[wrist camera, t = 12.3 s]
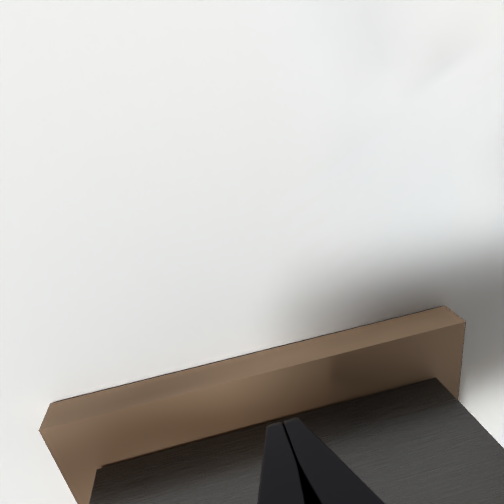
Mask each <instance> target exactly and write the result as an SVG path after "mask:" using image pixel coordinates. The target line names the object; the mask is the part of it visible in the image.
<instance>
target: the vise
mask: <svg viewBox="0 0 504 504" xmlns="http://www.w3.org/2000/svg"><path fill="white" fill-rule="evenodd" d="M465 324H466V321H464V320H463V319H462V318H460V317H459V316H458V315H456V314H455V313H454V312H452V311H451V310H450V309H448V308H447V307H446V306H442V307H438V308H434V309H430V310H426V311H422V312H418V313H414V314H410V315H406V316H402V317H398V318H394V319H389V320H385V321H381V322H377V323H373V324H369V325H365V326H361V327H357V328H353V329H349V330H345V331H341V332H337V333H333V334H329V335H325V336H321V337H317V338H313V339H309V340H305V341H301V342H297V343H293V344H289V345H284V346H280V347H276V348H272V349H268V350H264V351H260V352H256V353H252V354H248V355H244V356H240V357H236V358H232V359H228V360H224V361H220V362H216V363H212V364H208V365H204V366H200V367H196V368H192V369H188V370H184V371H179V372H175V373H171V374H167V375H163V376H159V377H155V378H151V379H147V380H143V381H139V382H135V383H131V384H127V385H123V386H119V387H115V388H111V389H107V390H103V391H99V392H95V393H91V394H87V395H83V396H79V397H74V398H70V399H66V400H62V401H58V402H54V403H50V405H49V408H48V410H47V413H46V415H45V417H44V420H43V422H42V424H41V427H40V429H39V432H40V434H41V435H42V437H43V439H44V441H45V443H46V445H47V447H48V449H49V451H50V452H51V454H52V456H53V458H54V460H55V462H56V464H57V466H58V468H59V469H60V471H61V473H62V475H63V477H64V479H65V481H66V483H67V485H68V487H69V488H70V490H71V492H72V494H73V496H74V498H75V500H76V502H77V504H89V502H90V498H91V493H92V489H93V484H94V479H95V475H96V470H97V469H100V468H104V467H107V466H111V465H115V464H118V463H122V462H126V461H129V460H133V459H137V458H140V457H144V456H148V455H152V454H155V453H159V452H163V451H166V450H170V449H174V448H177V447H181V446H185V445H188V444H192V443H196V442H199V441H203V440H207V439H210V438H214V437H218V436H221V435H225V434H229V433H232V432H236V431H240V430H244V429H247V428H251V427H255V426H258V425H262V424H266V423H269V422H273V421H277V420H280V419H284V418H288V417H291V416H295V415H299V414H302V413H306V412H310V411H313V410H317V409H321V408H325V407H328V406H332V405H336V404H339V403H343V402H347V401H350V400H354V399H358V398H361V397H365V396H369V395H372V394H376V393H380V392H383V391H387V390H391V389H394V388H398V387H402V386H405V385H409V384H413V383H417V382H420V381H424V380H428V379H431V378H435V377H436V378H437V379H438V380H439V381H440V382H441V383H442V384H443V385H444V386H445V387H446V388H447V389H448V390H449V392H450V393H451V394H452V395H453V396H454V397H455V398H456V399H457V400H458V393H459V383H460V374H461V364H462V354H463V344H464V334H465Z"/></svg>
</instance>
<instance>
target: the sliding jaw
mask: <svg viewBox="0 0 504 504" xmlns="http://www.w3.org/2000/svg"><path fill="white" fill-rule="evenodd" d="M295 417H297V418H299V419H300V420H301V421H302V422H303V423H304V424H305V425H306V426H307V427H308V428H309V429H310V430H312V431H313V432H314V433H315V434H316V435H317V436H318V437H319V438H320V439H321V440H322V441H323V442H324V443H325V444H326V445H327V446H328V447H329V448H330V449H331V450H332V451H333V452H334V453H335V454H336V455H337V456H338V457H339V458H340V459H341V460H342V461H343V462H344V463H345V464H346V465H347V466H348V467H349V468H350V469H351V470H352V471H353V472H354V473H355V474H356V475H357V476H358V477H359V478H360V479H361V480H362V481H363V482H364V483H365V484H366V485H367V486H368V487H369V488H370V489H371V490H372V491H373V492H374V493H375V494H376V495H377V496H378V497H379V498H380V499H381V500H382V501H383V502H384V503H385V504H504V448H503V447H502V446H501V445H500V444H499V443H498V442H497V441H496V440H495V439H494V438H493V437H492V436H491V435H490V434H489V433H488V431H487V430H486V429H485V428H484V427H483V426H482V425H481V424H480V423H479V422H478V421H477V420H476V419H475V418H474V417H473V416H472V415H471V414H470V413H469V412H468V410H467V409H466V408H465V407H464V406H463V405H462V404H461V403H460V402H459V401H458V400H457V399H456V398H455V397H454V396H453V395H452V394H451V393H450V392H449V390H448V389H447V388H446V387H445V386H444V385H443V384H442V383H441V382H440V381H439V380H438V379H437V378H436V377H435V378H431V379H428V380H424V381H420V382H417V383H413V384H409V385H405V386H402V387H398V388H394V389H391V390H387V391H383V392H380V393H376V394H372V395H369V396H365V397H361V398H358V399H354V400H350V401H347V402H343V403H339V404H336V405H332V406H328V407H325V408H321V409H317V410H313V411H310V412H306V413H302V414H299V415H295V416H291V417H288V418H284V419H280V420H277V421H273V422H269V423H266V424H262V425H258V426H255V427H251V428H247V429H244V430H240V431H236V432H232V433H229V434H225V435H221V436H218V437H214V438H210V439H207V440H203V441H199V442H196V443H192V444H188V445H185V446H181V447H177V448H174V449H170V450H166V451H163V452H159V453H155V454H152V455H148V456H144V457H140V458H137V459H133V460H129V461H126V462H122V463H118V464H115V465H111V466H107V467H104V468H100V469H97V470H96V475H95V479H94V484H93V489H92V493H91V498H90V502H89V504H257V502H258V493H259V484H260V476H261V467H262V458H263V450H264V441H265V433H266V427H267V425H270V424H273V423H277V422H281V423H282V424H283V422H284V421H285V420H288V419H291V418H295Z"/></svg>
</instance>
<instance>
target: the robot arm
mask: <svg viewBox="0 0 504 504" xmlns="http://www.w3.org/2000/svg"><path fill="white" fill-rule="evenodd" d="M257 504H385V503H384V502H383V501H382V500H381V499H380V498H379V497H378V496H377V495H376V494H375V493H374V492H373V491H372V490H371V489H370V488H369V487H368V486H367V485H366V484H365V483H364V482H363V481H362V480H361V479H360V478H359V477H358V476H357V475H356V474H355V473H354V472H353V471H352V470H351V469H350V468H349V467H348V466H347V465H346V464H345V463H344V462H343V461H342V460H341V459H340V458H339V457H338V456H337V455H336V454H335V453H334V452H333V451H332V450H331V449H330V448H329V447H328V446H327V445H326V444H325V443H324V442H323V441H322V440H321V439H320V438H319V437H318V436H317V435H316V434H315V433H314V432H313V431H312V430H310V429H309V428H308V427H307V426H306V425H305V424H304V423H303V422H302V421H301V420H300V419H299V418H297V417H295V418H291V419H288V420H285V421H284V422H283V424H282V423H281V422H277V423H273V424H270V425H267V427H266V433H265V441H264V450H263V458H262V467H261V476H260V484H259V493H258V502H257Z"/></svg>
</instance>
